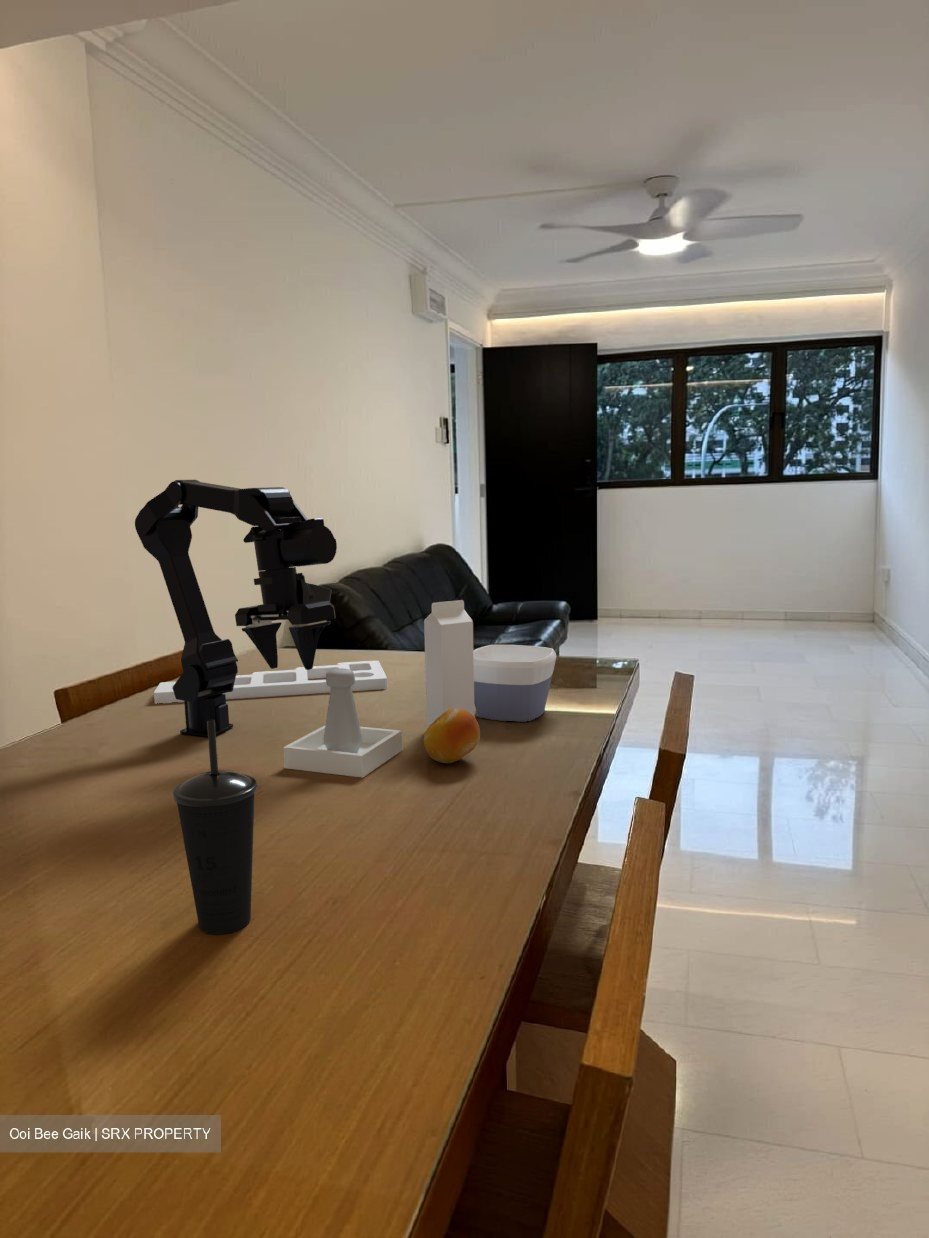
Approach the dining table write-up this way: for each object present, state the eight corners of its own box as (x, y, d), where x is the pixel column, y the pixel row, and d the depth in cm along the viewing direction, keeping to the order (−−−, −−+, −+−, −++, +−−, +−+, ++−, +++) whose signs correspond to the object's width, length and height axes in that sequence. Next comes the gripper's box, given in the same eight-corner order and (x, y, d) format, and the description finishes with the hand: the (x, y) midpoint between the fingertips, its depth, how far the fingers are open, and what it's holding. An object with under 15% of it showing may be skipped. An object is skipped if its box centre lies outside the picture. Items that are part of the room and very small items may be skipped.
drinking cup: (193, 904, 87) (178, 711, 83) (270, 900, 87) (258, 708, 84) (174, 945, 79) (157, 734, 76) (259, 939, 80) (246, 730, 77)
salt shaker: (365, 757, 129) (361, 672, 127) (326, 761, 128) (322, 675, 125) (359, 746, 135) (356, 664, 132) (322, 749, 133) (318, 667, 131)
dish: (284, 768, 127) (283, 747, 127) (329, 742, 139) (328, 723, 139) (362, 777, 123) (361, 755, 122) (402, 750, 135) (401, 730, 134)
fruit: (412, 760, 130) (411, 709, 128) (458, 749, 135) (457, 699, 134) (446, 775, 123) (444, 721, 122) (492, 762, 128) (491, 710, 127)
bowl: (455, 721, 151) (453, 658, 149) (486, 699, 165) (485, 642, 163) (539, 729, 145) (539, 664, 143) (564, 706, 159) (564, 647, 157)
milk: (475, 734, 143) (473, 602, 139) (442, 739, 140) (440, 605, 136) (457, 725, 148) (455, 597, 144) (425, 730, 145) (423, 600, 142)
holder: (154, 706, 166) (153, 692, 166) (167, 685, 184) (166, 672, 183) (387, 691, 175) (387, 678, 174) (378, 672, 192) (378, 660, 192)
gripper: (356, 559, 132) (369, 659, 134) (285, 567, 145) (297, 658, 147) (296, 567, 124) (311, 674, 126) (227, 574, 137) (241, 671, 139)
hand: (291, 668), depth 134 cm, fingers open, 9 cm apart
